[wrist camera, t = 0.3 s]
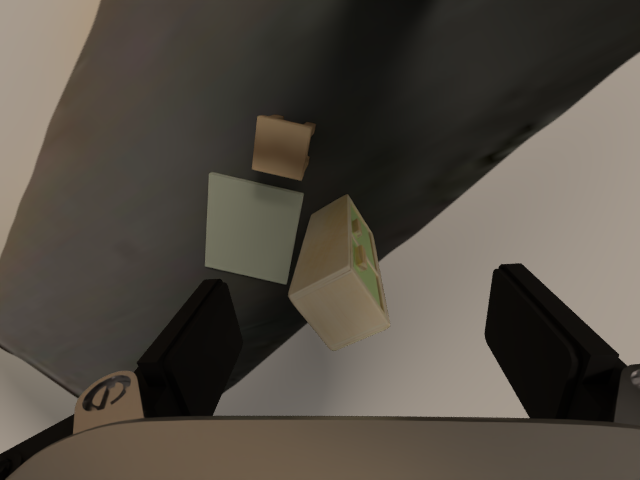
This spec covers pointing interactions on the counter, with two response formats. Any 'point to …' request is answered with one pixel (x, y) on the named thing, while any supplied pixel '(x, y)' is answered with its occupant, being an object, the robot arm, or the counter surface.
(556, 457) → the robot arm
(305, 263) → the beige block
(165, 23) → the counter surface
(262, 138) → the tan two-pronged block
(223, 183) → the sage mat
